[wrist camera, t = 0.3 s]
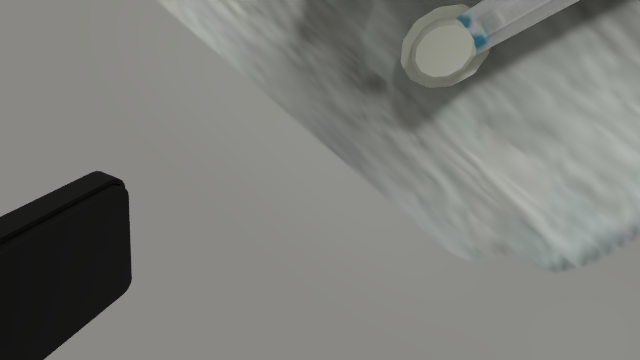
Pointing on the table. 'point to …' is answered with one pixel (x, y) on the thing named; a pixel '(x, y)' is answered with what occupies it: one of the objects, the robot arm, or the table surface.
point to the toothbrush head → (466, 37)
